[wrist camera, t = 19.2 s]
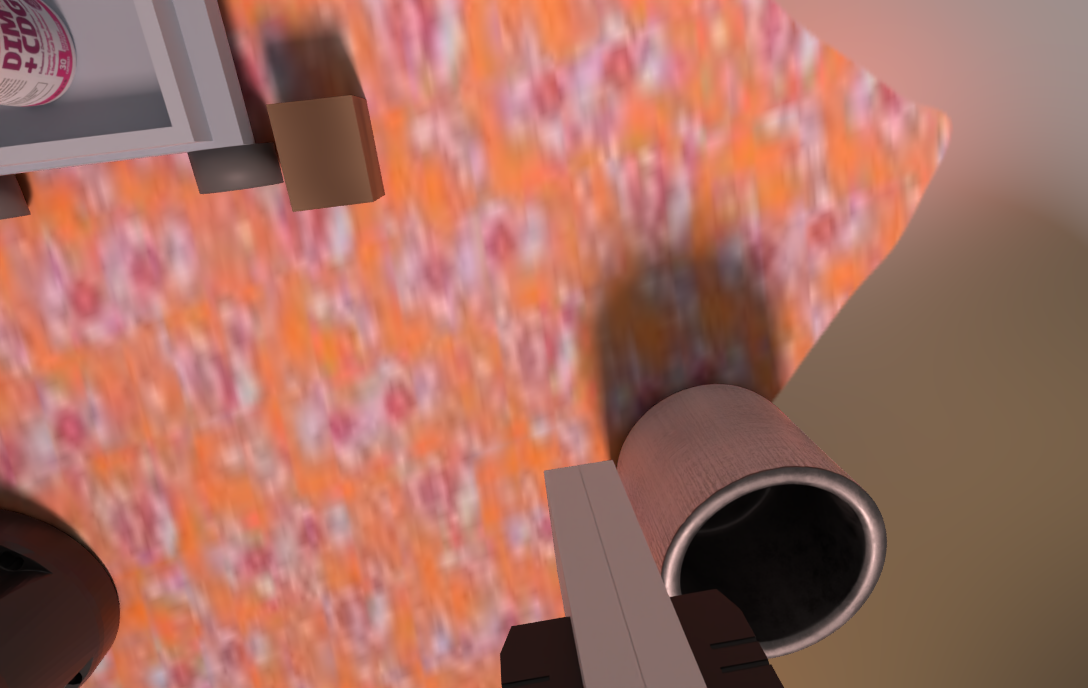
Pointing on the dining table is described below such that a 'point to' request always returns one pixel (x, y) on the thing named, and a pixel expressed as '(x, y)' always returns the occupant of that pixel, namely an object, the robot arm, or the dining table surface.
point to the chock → (326, 152)
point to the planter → (752, 514)
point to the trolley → (140, 100)
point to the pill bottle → (33, 54)
